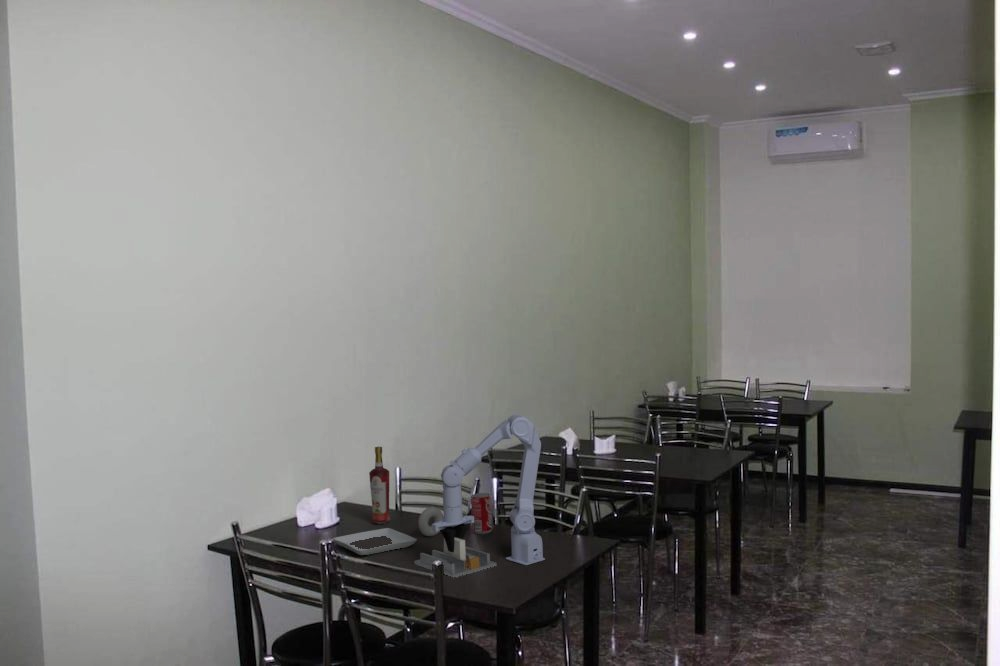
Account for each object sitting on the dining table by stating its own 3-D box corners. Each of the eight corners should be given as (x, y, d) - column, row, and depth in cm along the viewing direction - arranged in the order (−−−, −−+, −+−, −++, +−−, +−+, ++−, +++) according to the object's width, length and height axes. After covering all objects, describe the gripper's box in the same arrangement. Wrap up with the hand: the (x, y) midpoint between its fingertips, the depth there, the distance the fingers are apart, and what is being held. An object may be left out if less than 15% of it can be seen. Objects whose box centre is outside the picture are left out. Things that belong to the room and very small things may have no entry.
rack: (496, 566, 255) (496, 552, 255) (453, 578, 244) (453, 564, 244) (456, 553, 270) (455, 540, 270) (414, 564, 260) (413, 551, 260)
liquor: (368, 525, 310) (365, 448, 310) (375, 520, 317) (372, 445, 317) (387, 525, 309) (384, 448, 308) (394, 520, 316) (391, 445, 315)
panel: (465, 563, 255) (465, 540, 255) (460, 564, 253) (459, 541, 253) (449, 558, 261) (448, 535, 261) (444, 559, 260) (443, 536, 259)
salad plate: (388, 536, 296) (387, 526, 296) (418, 548, 278) (418, 538, 278) (331, 547, 284) (331, 537, 284) (359, 561, 266) (358, 550, 266)
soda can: (490, 535, 291) (488, 497, 290) (469, 534, 292) (468, 497, 292) (494, 529, 298) (493, 492, 297) (474, 529, 299) (473, 492, 299)
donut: (422, 539, 288) (421, 510, 287) (416, 538, 290) (415, 508, 290) (446, 534, 294) (445, 505, 294) (440, 532, 297) (439, 503, 296)
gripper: (463, 499, 265) (465, 543, 265) (425, 507, 255) (427, 552, 256) (477, 503, 259) (479, 547, 260) (439, 511, 250) (440, 557, 250)
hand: (454, 550), depth 257 cm, fingers closed on panel, 2 cm apart
